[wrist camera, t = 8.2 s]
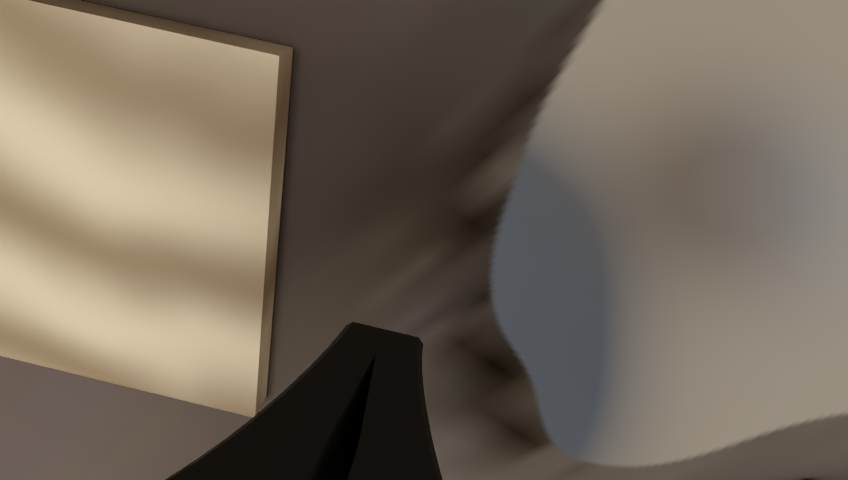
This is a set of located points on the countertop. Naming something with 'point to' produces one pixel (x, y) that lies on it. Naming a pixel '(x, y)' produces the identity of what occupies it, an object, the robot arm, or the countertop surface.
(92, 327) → the bench board
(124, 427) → the countertop surface
